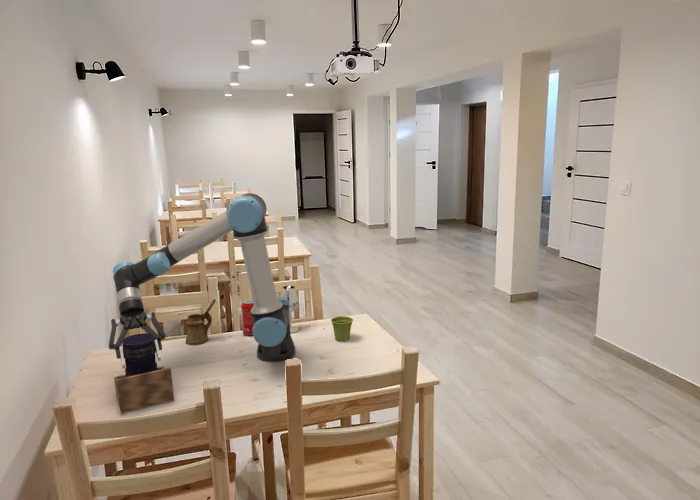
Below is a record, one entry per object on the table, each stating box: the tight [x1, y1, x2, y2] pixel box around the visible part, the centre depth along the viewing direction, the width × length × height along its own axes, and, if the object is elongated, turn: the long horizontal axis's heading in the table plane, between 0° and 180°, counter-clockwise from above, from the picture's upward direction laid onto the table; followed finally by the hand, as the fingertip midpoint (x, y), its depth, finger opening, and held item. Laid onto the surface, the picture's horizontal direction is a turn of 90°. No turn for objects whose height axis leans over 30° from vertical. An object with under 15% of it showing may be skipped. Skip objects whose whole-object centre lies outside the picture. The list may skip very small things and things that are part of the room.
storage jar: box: [121, 333, 158, 377], centre depth 163 cm, size 10×10×15 cm
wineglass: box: [280, 285, 299, 334], centre depth 220 cm, size 8×8×20 cm
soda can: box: [240, 298, 254, 337], centre depth 218 cm, size 8×8×15 cm
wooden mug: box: [185, 299, 216, 346], centre depth 210 cm, size 9×14×18 cm, turn 102°
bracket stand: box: [113, 366, 175, 414], centre depth 164 cm, size 16×16×11 cm
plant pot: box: [330, 315, 354, 342], centre depth 210 cm, size 9×9×9 cm
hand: (141, 362), depth 160 cm, fingers open, 10 cm apart
